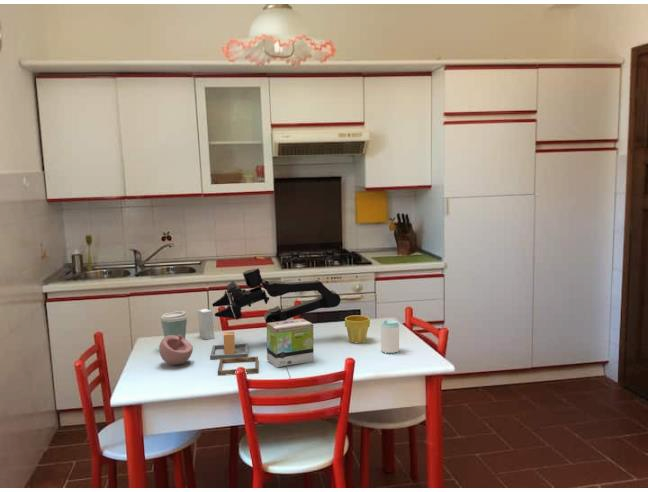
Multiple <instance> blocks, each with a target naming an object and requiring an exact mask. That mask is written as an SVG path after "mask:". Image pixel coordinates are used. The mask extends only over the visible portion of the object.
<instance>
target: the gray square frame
mask: <svg viewBox="0 0 648 492" xmlns="http://www.w3.org/2000/svg"><path fill="white" fill-rule="evenodd" d="M235 349H244V353H243V352H242V353H235V354H224V353H222V354H215V353H216V350H224V344H214V345H212V347H211V351H210V354H209V357H210V361H211V360H212V361H213V360H220V359H223V358H241V357H249V353H248V352H249V343H235Z"/></svg>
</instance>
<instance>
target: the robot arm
mask: <svg viewBox="0 0 648 492" xmlns="http://www.w3.org/2000/svg"><path fill="white" fill-rule="evenodd" d="M242 276H243V278H244V281H245V284H246V286H247V287H249V288H250V289H248V290H246V289H242V288H241V287H240V286H239V285H238V284H237V283H236V282H235V280H233V281H231V282H230V283H228V284H227V288H226V290H224V293H223V296H221V297H220V298H219V299H217V300H215V301H214V302H213V303H212V304H211V305H212V307H225V306H226V308H223V309H221V310H220V311H218V312H215V313H214V317H216V318H217V317H218V318H230V319H233V320H236V321H237V320H241V319H242V317H243V314H242V310H243V309H242V308H244V307H245V308H246V307H247V306H248V308H249V307H252V304H256V303H258V302H260V301H263V302H264V304H266V305H267V304H268V302H269V300H270V297H271V298H276V297H280V296H283V295H287V294H290V293H303V292H318V293H319V294H320V295H319V296H318V297H316V298H313V299H310V300H308V301H305V302H301V303H299V304H296V305H292V306H289V307H287V308H280V306H278V305H277V306H275V307H273V308H269V310H267V311H266V312H265V313H264V316H263V318H264V321H265V323H266V325H267V323H271V322H279V321H286V320H290V319H292V318H295V317H298V316H301V315H304V314H306V313H307V314H308V313H309V312H313V311H316V310H319V309H330V308H336V307H338V306H339V305H340V303H341V296H340V295H339V294H338V293H337V292H336V291H334V290H330V289H328V287H326V286H325V285H324V284H323V282H322V281H320V280H318V279H316V280H307V281H294V282H293V281H292V282H290V281H289V282H285V281H279V280H270V281H268V280H265V279H263V278H262V275H261V270H260V268H254V269H253V268H252V269H248V270H246V271H243V272H242ZM261 286H262V287H263V289H262V287H261ZM266 292H267V293H266ZM267 294H268V295H269V296H267Z"/></svg>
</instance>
